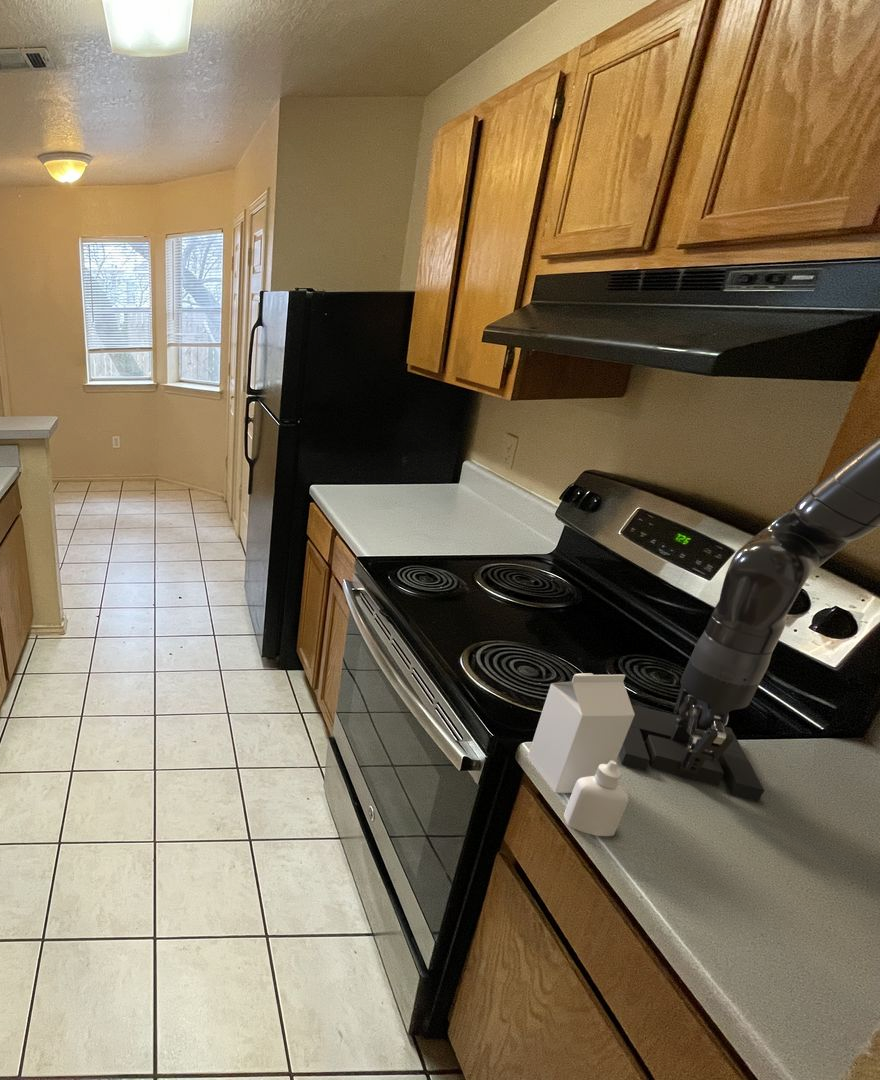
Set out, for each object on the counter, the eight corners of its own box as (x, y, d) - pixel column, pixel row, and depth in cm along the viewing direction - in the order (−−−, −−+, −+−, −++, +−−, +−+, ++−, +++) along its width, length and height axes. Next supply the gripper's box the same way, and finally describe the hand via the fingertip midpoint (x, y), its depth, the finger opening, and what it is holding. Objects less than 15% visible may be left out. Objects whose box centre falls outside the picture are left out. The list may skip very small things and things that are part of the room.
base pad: (723, 742, 95) (731, 727, 94) (756, 805, 84) (764, 790, 83) (604, 712, 102) (610, 699, 101) (619, 768, 91) (625, 753, 89)
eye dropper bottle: (568, 807, 84) (592, 742, 79) (615, 831, 80) (643, 765, 76) (558, 825, 81) (583, 759, 77) (607, 851, 78) (636, 783, 73)
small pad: (706, 765, 91) (713, 750, 89) (716, 788, 87) (724, 773, 85) (642, 748, 94) (648, 734, 93) (649, 770, 90) (656, 755, 89)
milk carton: (602, 796, 86) (644, 691, 78) (553, 797, 86) (591, 692, 78) (571, 759, 92) (607, 659, 85) (525, 760, 92) (557, 660, 85)
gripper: (781, 705, 75) (730, 802, 82) (742, 646, 87) (700, 736, 94) (706, 688, 78) (663, 783, 85) (678, 634, 90) (642, 721, 97)
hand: (682, 758), depth 90 cm, fingers closed on small pad, 5 cm apart
